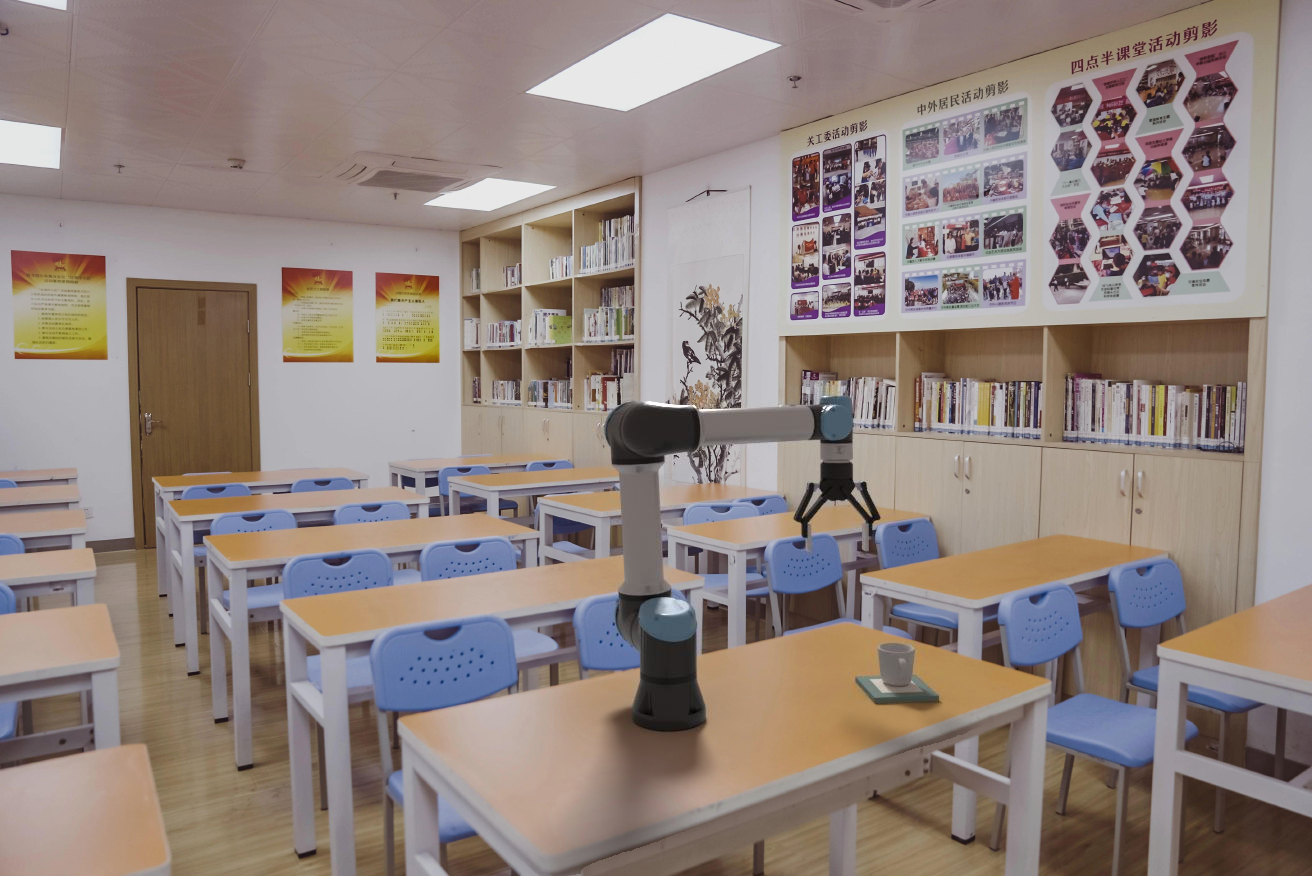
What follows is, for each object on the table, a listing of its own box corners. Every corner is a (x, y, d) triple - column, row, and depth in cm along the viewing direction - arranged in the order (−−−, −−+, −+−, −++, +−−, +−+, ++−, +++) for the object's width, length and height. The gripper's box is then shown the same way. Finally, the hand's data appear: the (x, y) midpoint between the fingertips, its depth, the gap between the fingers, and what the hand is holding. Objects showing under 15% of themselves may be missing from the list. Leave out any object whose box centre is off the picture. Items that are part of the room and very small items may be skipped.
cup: (923, 692, 184) (923, 656, 183) (885, 693, 184) (885, 656, 184) (909, 676, 195) (909, 641, 194) (873, 677, 195) (873, 642, 194)
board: (874, 703, 182) (874, 697, 182) (855, 681, 196) (855, 675, 196) (939, 700, 183) (939, 694, 182) (915, 679, 197) (915, 673, 196)
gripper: (787, 463, 197) (788, 554, 198) (894, 461, 198) (894, 552, 199) (780, 461, 204) (781, 549, 205) (883, 459, 206) (883, 546, 207)
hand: (836, 550), depth 202 cm, fingers open, 13 cm apart
